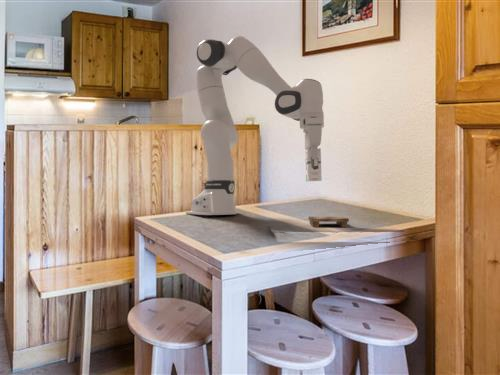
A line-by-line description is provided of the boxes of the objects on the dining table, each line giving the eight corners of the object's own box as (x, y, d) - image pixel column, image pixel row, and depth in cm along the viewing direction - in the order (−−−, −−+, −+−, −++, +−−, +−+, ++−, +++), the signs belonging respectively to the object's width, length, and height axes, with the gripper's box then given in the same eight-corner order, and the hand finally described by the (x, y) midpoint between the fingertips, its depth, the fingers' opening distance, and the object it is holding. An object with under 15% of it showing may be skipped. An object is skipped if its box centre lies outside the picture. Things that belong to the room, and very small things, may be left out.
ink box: (305, 181, 169) (304, 150, 169) (318, 181, 169) (317, 150, 169) (308, 181, 160) (307, 148, 160) (322, 180, 160) (321, 148, 160)
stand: (312, 227, 158) (312, 218, 158) (308, 224, 169) (308, 216, 169) (348, 227, 158) (348, 218, 158) (342, 224, 169) (342, 216, 169)
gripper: (300, 127, 175) (301, 162, 175) (305, 118, 155) (306, 158, 155) (316, 126, 175) (317, 161, 175) (324, 118, 155) (325, 158, 154)
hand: (312, 160), depth 165 cm, fingers closed on ink box, 8 cm apart
